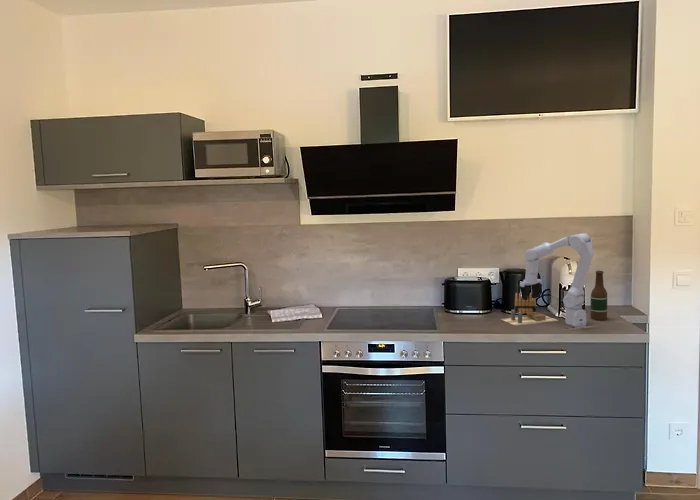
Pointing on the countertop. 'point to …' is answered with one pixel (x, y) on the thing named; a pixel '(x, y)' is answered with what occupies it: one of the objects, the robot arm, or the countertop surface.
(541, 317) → the tan cardboard box
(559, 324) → the countertop surface
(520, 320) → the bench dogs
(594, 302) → the beer bottle
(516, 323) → the bench board
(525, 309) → the ammunition clip
